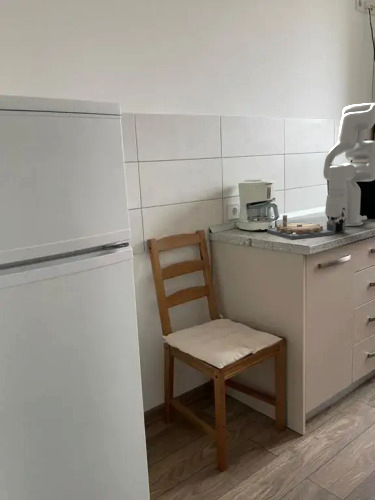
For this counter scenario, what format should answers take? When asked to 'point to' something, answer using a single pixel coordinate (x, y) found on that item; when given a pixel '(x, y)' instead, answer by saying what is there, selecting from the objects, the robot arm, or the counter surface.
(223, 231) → the counter surface
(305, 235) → the sprocket base
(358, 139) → the robot arm
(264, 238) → the counter surface
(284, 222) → the sprocket disc
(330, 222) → the grey block
